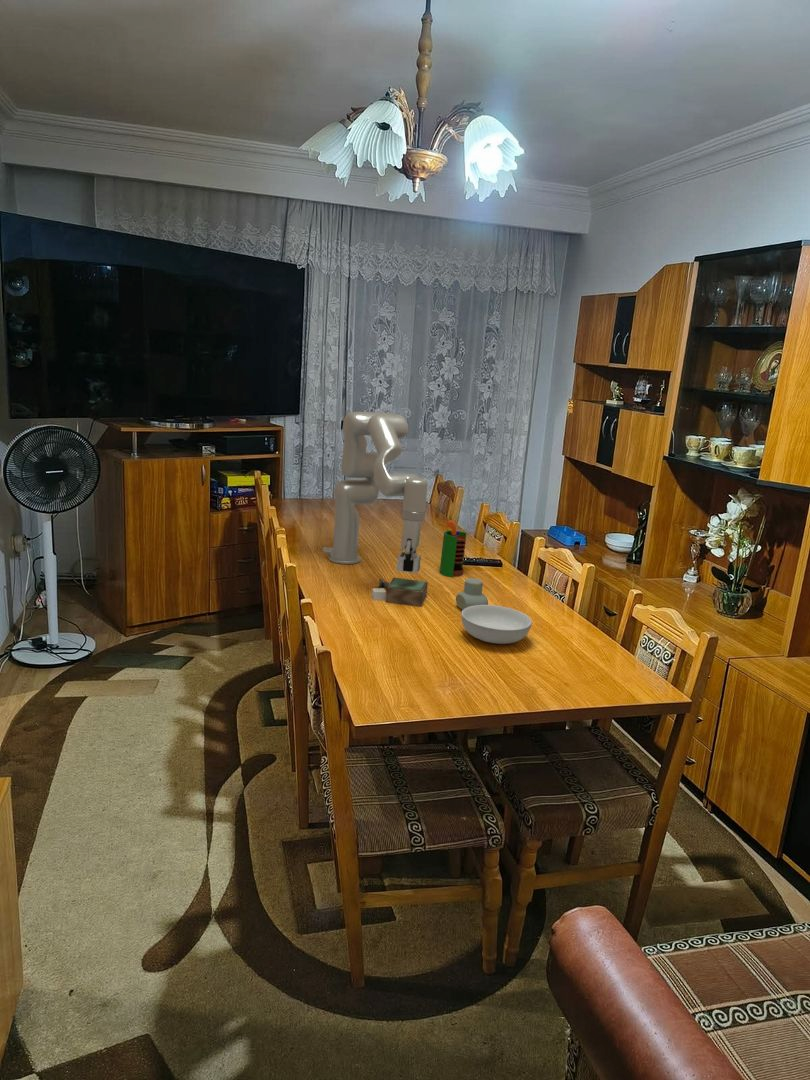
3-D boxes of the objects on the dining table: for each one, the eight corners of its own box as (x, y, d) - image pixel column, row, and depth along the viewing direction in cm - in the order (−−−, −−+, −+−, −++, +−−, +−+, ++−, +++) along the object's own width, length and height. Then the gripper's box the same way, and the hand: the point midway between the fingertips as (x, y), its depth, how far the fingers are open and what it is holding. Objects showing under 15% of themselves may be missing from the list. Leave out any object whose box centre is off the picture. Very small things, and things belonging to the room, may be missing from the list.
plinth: (385, 602, 246) (386, 586, 245) (392, 591, 258) (393, 576, 256) (421, 606, 244) (422, 591, 243) (426, 595, 256) (427, 581, 255)
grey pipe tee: (452, 604, 249) (455, 576, 247) (474, 603, 252) (477, 575, 250) (467, 616, 239) (470, 586, 237) (489, 614, 243) (493, 585, 240)
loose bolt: (378, 587, 261) (379, 580, 260) (380, 585, 264) (380, 578, 263) (395, 589, 260) (395, 582, 260) (396, 587, 263) (397, 580, 262)
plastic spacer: (373, 600, 247) (374, 592, 246) (371, 596, 251) (372, 588, 250) (385, 600, 248) (386, 592, 247) (383, 596, 252) (383, 588, 251)
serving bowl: (484, 655, 209) (487, 632, 207) (446, 629, 226) (448, 607, 225) (543, 647, 218) (546, 625, 217) (502, 622, 236) (505, 602, 235)
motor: (461, 578, 279) (466, 526, 274) (437, 575, 281) (442, 523, 276) (464, 571, 289) (469, 521, 284) (441, 568, 290) (446, 518, 286)
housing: (396, 570, 247) (397, 553, 245) (399, 567, 251) (400, 549, 250) (417, 573, 246) (418, 556, 244) (419, 569, 250) (421, 552, 249)
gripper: (406, 509, 253) (402, 561, 257) (397, 519, 236) (393, 574, 241) (428, 512, 252) (424, 563, 256) (420, 522, 235) (416, 577, 240)
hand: (409, 568), depth 248 cm, fingers closed on housing, 5 cm apart
